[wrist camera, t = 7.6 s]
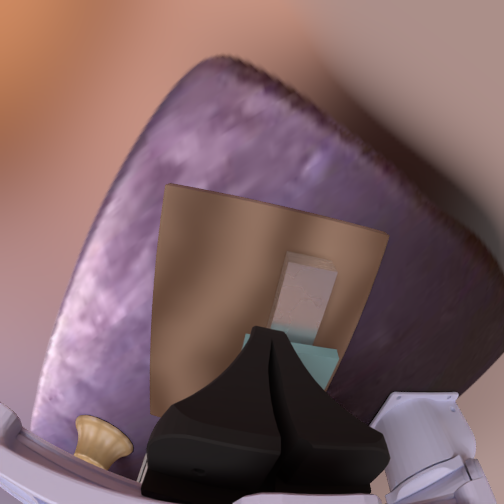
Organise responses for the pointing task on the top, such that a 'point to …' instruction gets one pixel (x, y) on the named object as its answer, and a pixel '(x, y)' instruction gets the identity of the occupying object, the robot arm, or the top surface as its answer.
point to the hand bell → (100, 442)
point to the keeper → (315, 360)
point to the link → (302, 296)
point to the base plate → (241, 282)
